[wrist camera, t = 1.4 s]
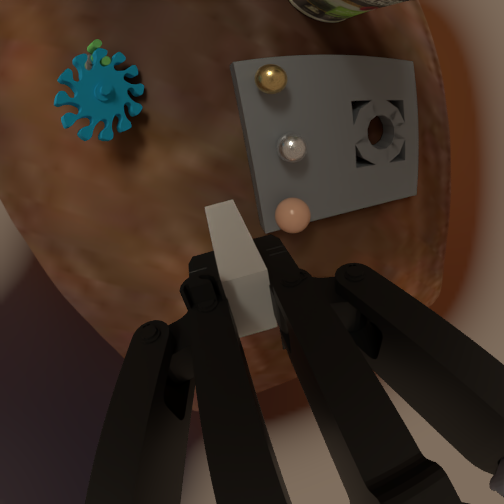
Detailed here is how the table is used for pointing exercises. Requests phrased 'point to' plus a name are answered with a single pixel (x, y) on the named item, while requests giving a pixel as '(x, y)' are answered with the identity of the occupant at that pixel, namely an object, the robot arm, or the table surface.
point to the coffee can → (338, 8)
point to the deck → (330, 132)
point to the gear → (99, 92)
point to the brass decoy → (271, 79)
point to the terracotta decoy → (292, 215)
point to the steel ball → (291, 147)
